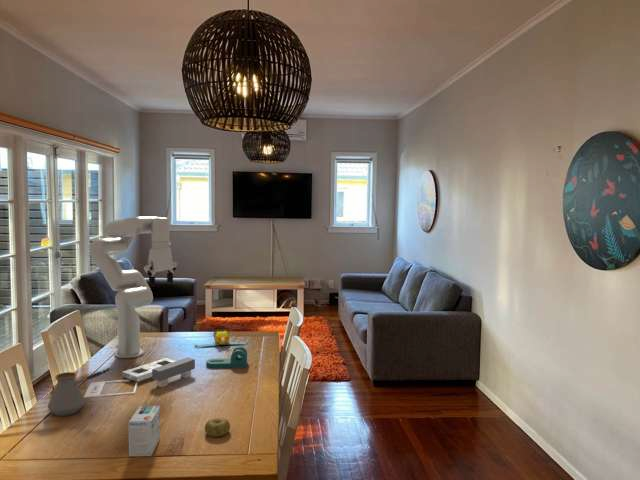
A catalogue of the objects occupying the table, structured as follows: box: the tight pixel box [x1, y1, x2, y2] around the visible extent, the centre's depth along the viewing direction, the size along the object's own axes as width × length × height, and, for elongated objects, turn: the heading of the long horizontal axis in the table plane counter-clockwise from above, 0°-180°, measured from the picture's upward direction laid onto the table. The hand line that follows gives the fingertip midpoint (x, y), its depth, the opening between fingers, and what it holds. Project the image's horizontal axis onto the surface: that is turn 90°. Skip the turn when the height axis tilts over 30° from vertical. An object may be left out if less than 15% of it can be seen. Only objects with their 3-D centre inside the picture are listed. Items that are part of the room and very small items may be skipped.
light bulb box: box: [127, 405, 161, 457], centre depth 147 cm, size 11×7×11 cm, turn 5°
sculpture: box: [204, 417, 231, 438], centre depth 157 cm, size 8×4×8 cm
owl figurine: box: [194, 328, 250, 349], centre depth 252 cm, size 28×9×15 cm
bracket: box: [205, 346, 248, 369], centre depth 220 cm, size 18×7×8 cm, turn 95°
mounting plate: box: [121, 357, 176, 385], centre depth 209 cm, size 10×22×3 cm, turn 146°
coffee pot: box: [47, 368, 113, 417], centre depth 171 cm, size 21×12×15 cm, turn 96°
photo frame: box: [83, 379, 139, 399], centre depth 192 cm, size 15×1×18 cm
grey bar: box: [151, 356, 196, 388], centre depth 201 cm, size 4×18×7 cm, turn 146°
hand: (161, 283), depth 217 cm, fingers open, 9 cm apart
